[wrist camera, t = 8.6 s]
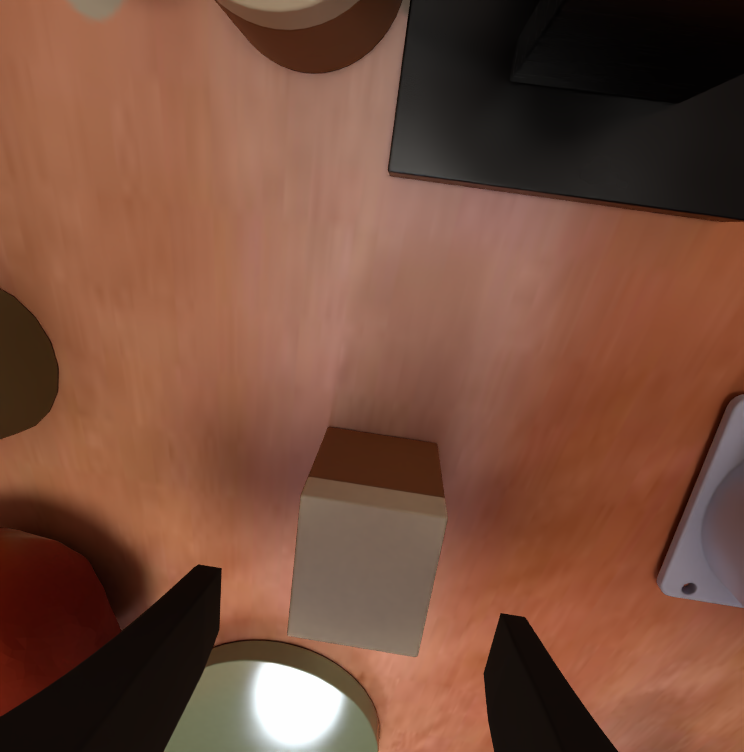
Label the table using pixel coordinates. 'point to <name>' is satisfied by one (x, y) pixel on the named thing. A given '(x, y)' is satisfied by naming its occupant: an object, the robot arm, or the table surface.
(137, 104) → the table surface
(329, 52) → the cake
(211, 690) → the plate
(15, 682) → the tomato
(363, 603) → the cake slice
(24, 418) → the pepper shaker
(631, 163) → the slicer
